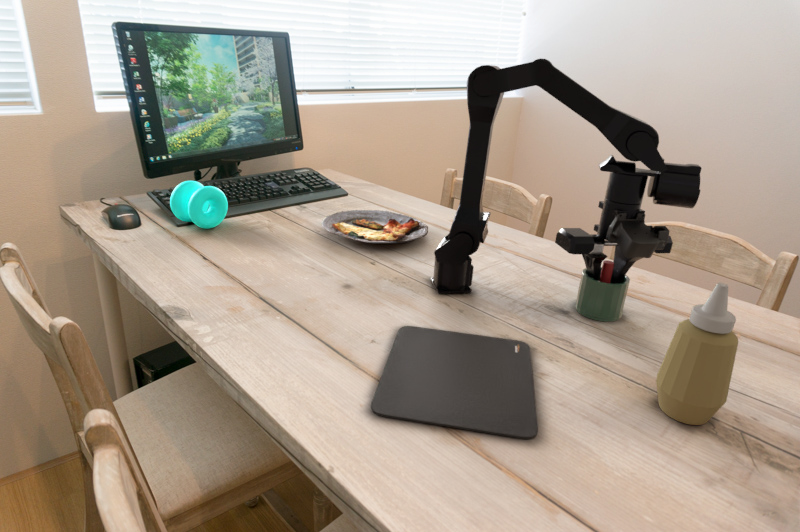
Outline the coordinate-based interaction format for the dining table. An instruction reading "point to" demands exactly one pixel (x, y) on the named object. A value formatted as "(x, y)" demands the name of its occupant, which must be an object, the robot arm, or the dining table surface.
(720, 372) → the squeeze bottle
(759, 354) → the dining table surface
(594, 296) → the cup
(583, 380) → the dining table surface
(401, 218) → the food plate
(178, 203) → the turquoise spool
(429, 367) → the mouse pad
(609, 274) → the red wooden peg
